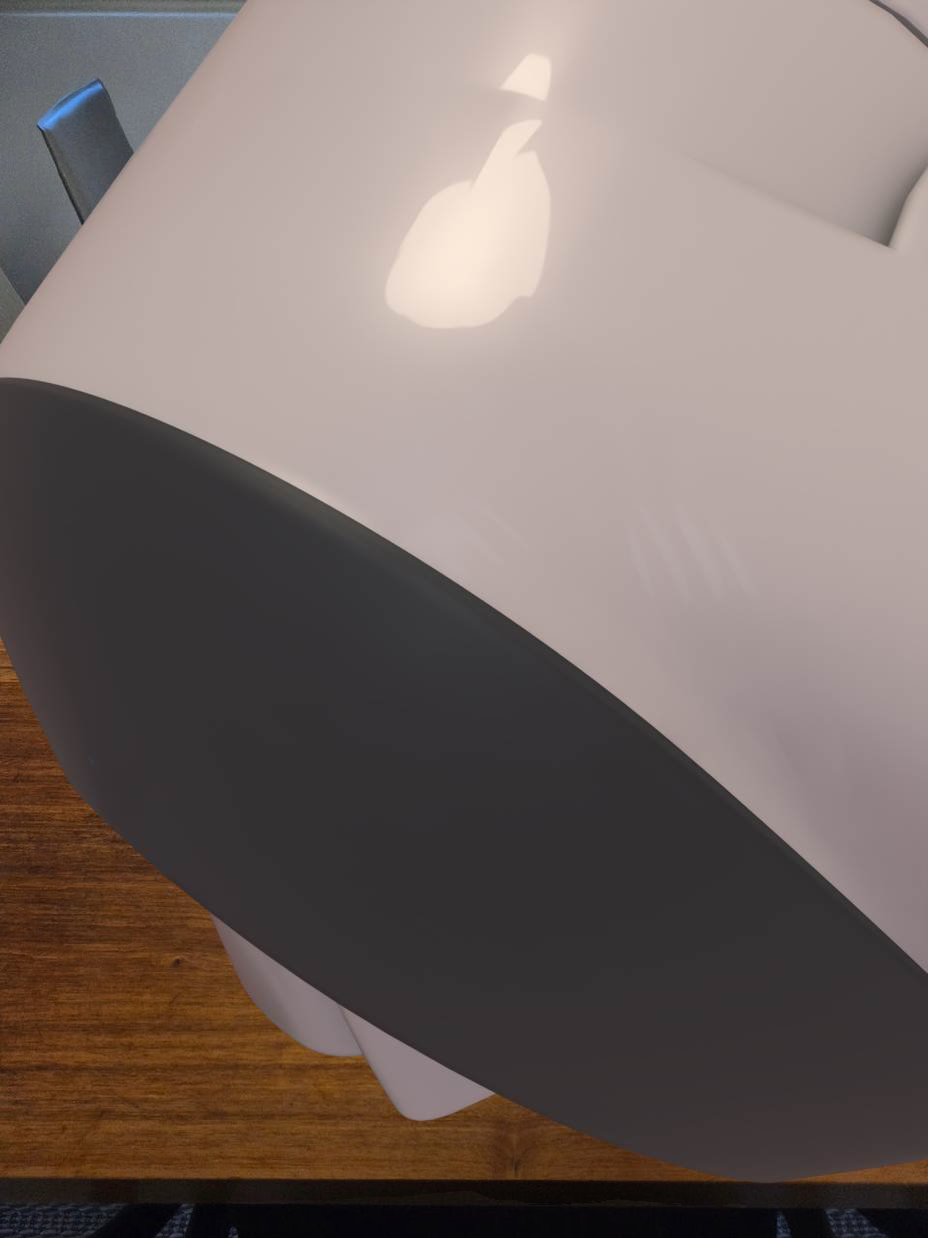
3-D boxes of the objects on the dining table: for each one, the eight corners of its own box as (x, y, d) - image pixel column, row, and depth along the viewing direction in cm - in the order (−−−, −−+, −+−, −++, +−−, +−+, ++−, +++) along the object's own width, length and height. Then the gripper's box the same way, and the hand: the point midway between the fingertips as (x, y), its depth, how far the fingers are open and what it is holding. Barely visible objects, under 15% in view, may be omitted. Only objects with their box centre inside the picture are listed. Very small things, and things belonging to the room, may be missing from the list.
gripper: (930, 502, 24) (641, 583, 36) (200, 863, 15) (157, 805, 28) (1015, 717, 24) (698, 723, 36) (338, 1183, 16) (234, 983, 28)
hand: (458, 761), depth 32 cm, fingers open, 6 cm apart
